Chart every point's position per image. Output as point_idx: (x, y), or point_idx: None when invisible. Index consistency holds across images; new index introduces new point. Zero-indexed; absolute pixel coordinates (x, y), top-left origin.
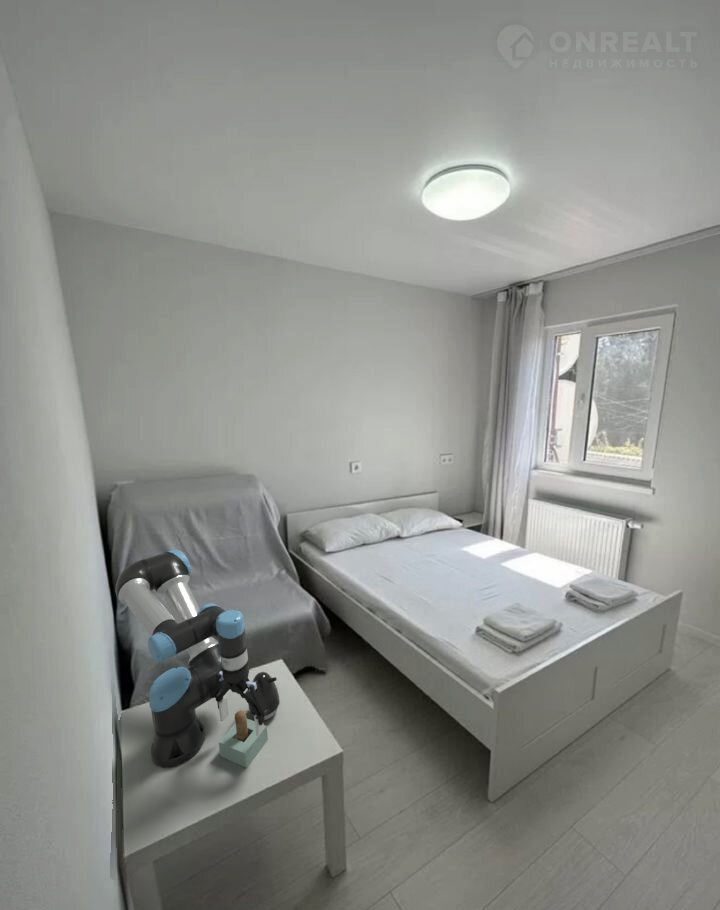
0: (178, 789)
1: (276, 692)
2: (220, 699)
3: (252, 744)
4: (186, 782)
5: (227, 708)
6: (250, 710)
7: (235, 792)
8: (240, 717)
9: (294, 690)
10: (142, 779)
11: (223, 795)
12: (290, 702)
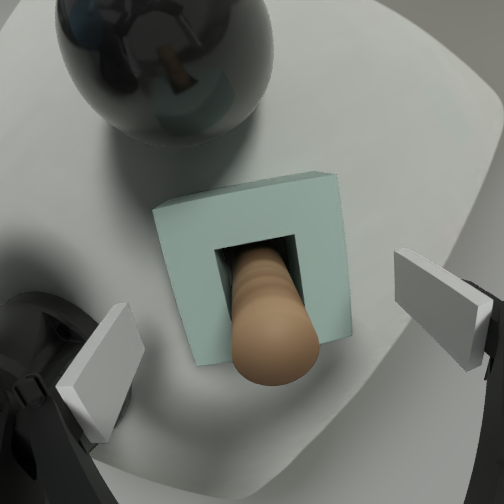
0: (198, 436)
1: None
2: (75, 432)
3: (348, 289)
4: (196, 420)
5: (112, 331)
6: (159, 146)
7: (354, 366)
8: (298, 365)
9: None
10: (102, 448)
11: (328, 388)
12: None
